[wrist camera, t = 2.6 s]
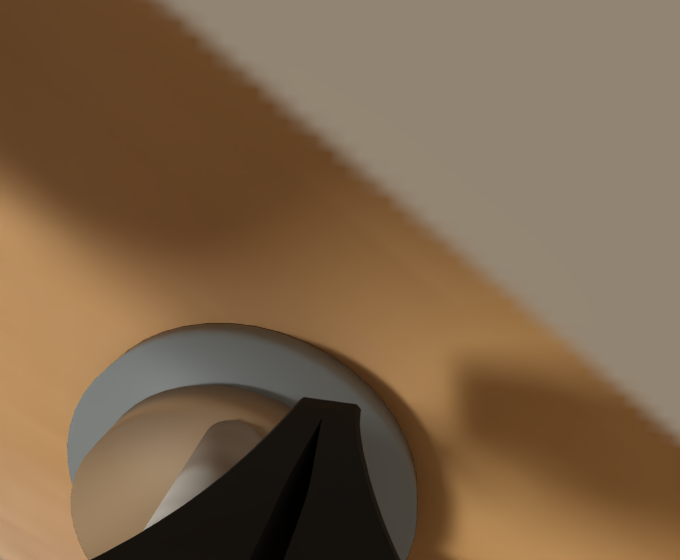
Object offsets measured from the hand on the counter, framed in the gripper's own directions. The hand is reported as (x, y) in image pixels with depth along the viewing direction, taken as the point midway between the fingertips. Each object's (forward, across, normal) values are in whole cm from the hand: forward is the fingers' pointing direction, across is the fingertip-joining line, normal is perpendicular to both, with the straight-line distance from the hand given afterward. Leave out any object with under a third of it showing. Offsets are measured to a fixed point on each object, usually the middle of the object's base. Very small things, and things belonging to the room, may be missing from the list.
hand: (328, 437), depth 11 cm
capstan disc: (+3, +3, +6) cm, 7 cm away
